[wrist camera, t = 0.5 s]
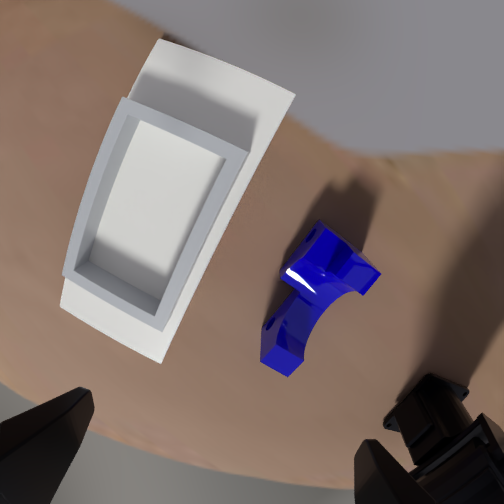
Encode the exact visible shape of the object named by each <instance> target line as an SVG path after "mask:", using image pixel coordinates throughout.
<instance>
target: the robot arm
mask: <svg viewBox="0 0 504 504" xmlns="http://www.w3.org/2000/svg"><path fill="white" fill-rule="evenodd" d="M468 394H469V390H468V388H466V387H464V386H461V385H459V384H456V383H454V382H452V381H449V380H447V379H444V378H442V377H439V376H437V375H434V374H432V373H430V374H427V375H426V376H425V377H424V378H423V379H422V380H421V382H420V383H419V384H418V385H417V386H416V387H415V388H414V390H413V391H412V392H411V393H410V394H409V395H408V396H407V397H406V399H405V400H404V401H403V402H402V403H401V404H400V405H399V406H398V407H397V408H396V409H395V410H394V411H393V413H392V414H391V415H390V416H389V417H388V418H387V419H386V420H385V421H384V422H383V426H384V428H385V429H388V430H392V431H396V432H400V433H401V435H402V438H403V440H404V443H405V445H406V447H408V450H409V453H410V455H411V458H412V461H413V463H414V465H417V467H416V468H415V469H413V470H412V471H411V472H409V473H408V472H407V471H406V470H405V469H404V468H403V467H402V466H401V465H400V464H399V463H398V462H397V461H396V460H395V458H394V457H393V456H392V455H391V454H390V453H389V452H388V451H387V450H386V449H385V448H384V447H383V446H382V445H381V444H380V443H379V441H377V440H376V439H365V440H364V441H363V442H362V444H361V445H360V447H359V449H358V450H357V452H356V454H355V457H354V496H355V504H504V432H503V431H502V429H501V428H500V427H499V426H498V425H497V424H496V423H495V422H493V421H492V420H491V419H490V418H488V417H487V416H486V415H485V414H483V413H481V414H480V415H479V416H478V417H477V419H476V420H475V421H473V420H472V418H471V416H470V415H469V413H468V412H467V410H466V408H465V407H464V405H463V404H462V401H463V400H464V399H465V398H466V397H467V395H468ZM93 413H94V402H93V397H92V393H91V391H90V390H89V389H86V388H83V387H77V388H75V389H73V390H71V391H69V392H67V393H65V394H62V395H60V396H58V397H56V398H54V399H52V400H50V401H47V402H45V403H43V404H41V405H39V406H36V407H34V408H32V409H30V410H28V411H25V412H24V413H21V414H19V415H17V416H14V417H12V418H10V419H7V420H5V421H3V422H1V423H0V504H50V503H51V501H52V498H53V497H54V495H55V493H56V491H57V489H58V487H59V485H60V483H61V481H62V479H63V477H64V476H65V474H66V472H67V470H68V468H69V466H70V464H71V463H72V461H73V459H74V457H75V455H76V453H77V452H78V449H79V448H80V445H81V443H82V441H83V438H84V436H85V433H86V431H87V428H88V426H89V423H90V421H91V418H92V416H93Z"/></svg>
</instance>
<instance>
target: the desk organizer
mask: <svg viewBox="0 0 504 504" xmlns="http://www.w3.org/2000/svg"><path fill="white" fill-rule="evenodd" d="M295 95H296V94H294V93H292V92H290V91H288V90H286V89H284V88H282V87H280V86H278V85H276V84H274V83H272V82H270V81H268V80H265V79H263V78H261V77H259V76H257V75H254V74H252V73H250V72H248V71H245V70H243V69H241V68H238V67H236V66H234V65H231V64H229V63H226V62H224V61H221V60H219V59H216V58H214V57H211V56H209V55H206V54H203V53H201V52H198V51H195V50H192V49H189V48H187V47H184V46H181V45H178V44H175V43H172V42H169V41H166V40H162V39H158V41H157V43H156V44H155V46H154V48H153V50H152V51H151V53H150V55H149V57H148V58H147V60H146V62H145V64H144V66H143V68H142V70H141V71H140V73H139V75H138V77H137V79H136V81H135V83H134V85H133V87H132V89H131V91H130V93H129V95H128V97H127V98H125V97H122V99H121V101H120V103H119V105H118V107H117V109H116V112H115V114H114V116H113V118H112V121H111V123H110V125H109V128H108V130H107V132H106V135H105V137H104V140H103V142H102V145H101V147H100V150H99V152H98V155H97V157H96V160H95V163H94V166H93V168H92V171H91V174H90V177H89V180H88V183H87V185H86V188H85V191H84V195H83V198H82V201H81V204H80V207H79V211H78V214H77V217H76V221H75V224H74V228H73V231H72V235H71V239H70V243H69V247H68V251H67V255H66V259H65V263H64V267H63V272H62V276H64V277H66V278H65V282H64V287H63V292H62V297H61V302H60V307H62V308H63V309H65V310H66V311H68V312H69V313H71V314H72V315H74V316H76V317H77V318H79V319H81V320H82V321H84V322H85V323H87V324H89V325H90V326H92V327H94V328H95V329H97V330H99V331H101V332H102V333H104V334H106V335H107V336H109V337H111V338H113V339H115V340H116V341H118V342H120V343H122V344H124V345H125V346H127V347H129V348H131V349H133V350H135V351H137V352H138V353H140V354H142V355H144V356H146V357H148V358H150V359H152V360H154V361H156V362H158V363H160V364H161V363H162V361H163V358H164V356H165V354H166V352H167V350H168V348H169V345H170V343H171V341H172V339H173V337H174V335H175V332H176V330H177V328H178V326H179V324H180V322H181V320H182V317H183V315H184V313H185V311H186V309H187V307H188V305H189V303H190V301H191V298H192V296H193V294H194V292H195V290H196V288H197V286H198V284H199V282H200V280H201V278H202V276H203V274H204V272H205V269H206V267H207V265H208V263H209V261H210V259H211V257H212V255H213V253H214V251H215V249H216V247H217V245H218V243H219V241H220V239H221V237H222V235H223V233H224V231H225V229H226V227H227V225H228V223H229V221H230V219H231V217H232V215H233V213H234V211H235V209H236V207H237V205H238V203H239V201H240V199H241V197H242V195H243V193H244V192H245V190H246V188H247V186H248V184H249V182H250V180H251V178H252V176H253V174H254V172H255V170H256V168H257V166H258V165H259V163H260V161H261V159H262V157H263V155H264V153H265V151H266V149H267V147H268V146H269V144H270V142H271V140H272V138H273V136H274V134H275V132H276V131H277V129H278V127H279V125H280V123H281V121H282V119H283V118H284V116H285V114H286V112H287V110H288V108H289V106H290V105H291V103H292V101H293V99H294V97H295Z"/></svg>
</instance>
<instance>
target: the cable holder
mask: <svg viewBox="0 0 504 504" xmlns="http://www.w3.org/2000/svg"><path fill="white" fill-rule="evenodd" d="M380 275H381V273H380V272H379V271H378V270H377V268H376V267H375V266H374V265H373V264H372V263H371V262H370V261H369V259H368V258H367V257H366V256H365V255H364V254H363V253H362V252H361V251H360V250H359V249H357V248H356V247H355V246H353V245H352V244H351V243H350V242H348V241H347V240H346V239H344V238H343V237H342V236H341V235H339V234H338V233H337V232H335V231H334V230H333V229H331V228H330V227H329V226H328V225H326V224H325V223H324V222H322V221H321V220H320V219H319V220H318V221H317V223H316V224H315V225H314V227H313V228H312V229H311V231H310V232H309V233H308V235H307V236H306V237H305V238H304V240H303V241H302V242H301V244H300V245H299V246H298V248H297V249H296V250H295V251H294V253H293V254H292V255H291V257H290V258H289V259H288V261H287V262H286V263H285V264H284V266H283V267H282V268H281V269H280V279H282V280H283V281H285V282H286V283H288V284H289V285H291V286H292V287H294V288H295V289H294V290H293V291H292V292H291V294H290V295H289V296H288V297H287V299H286V300H285V301H284V302H283V303H282V305H281V306H280V307H279V308H278V309H277V311H276V312H275V313H274V314H273V315H272V317H271V318H270V319H269V320H268V321H267V322H266V324H265V325H264V326H263V327H262V331H261V353H260V362H262V363H263V364H265V365H267V366H269V367H270V368H272V369H274V370H276V371H278V372H279V373H281V374H283V375H285V376H287V377H288V376H289V375H290V374H291V373H292V372H293V371H294V370H295V369H296V368H297V367H298V366H299V365H300V364H301V363H302V362H303V361H304V350H305V346H306V343H307V340H308V337H309V335H310V333H311V331H312V329H313V327H314V325H315V324H316V322H317V320H318V319H319V318H320V316H321V315H322V314H323V312H324V311H325V310H326V309H327V308H328V307H329V305H330V304H331V303H333V302H334V301H335V300H336V299H337V298H339V297H340V296H342V295H343V294H345V293H347V292H351V291H357V292H359V293H360V294H361V295H364V294H365V293H366V292H367V291H368V290H369V288H370V287H371V286H372V285H373V283H374V282H375V281H376V280H377V279H378V277H379V276H380Z"/></svg>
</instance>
